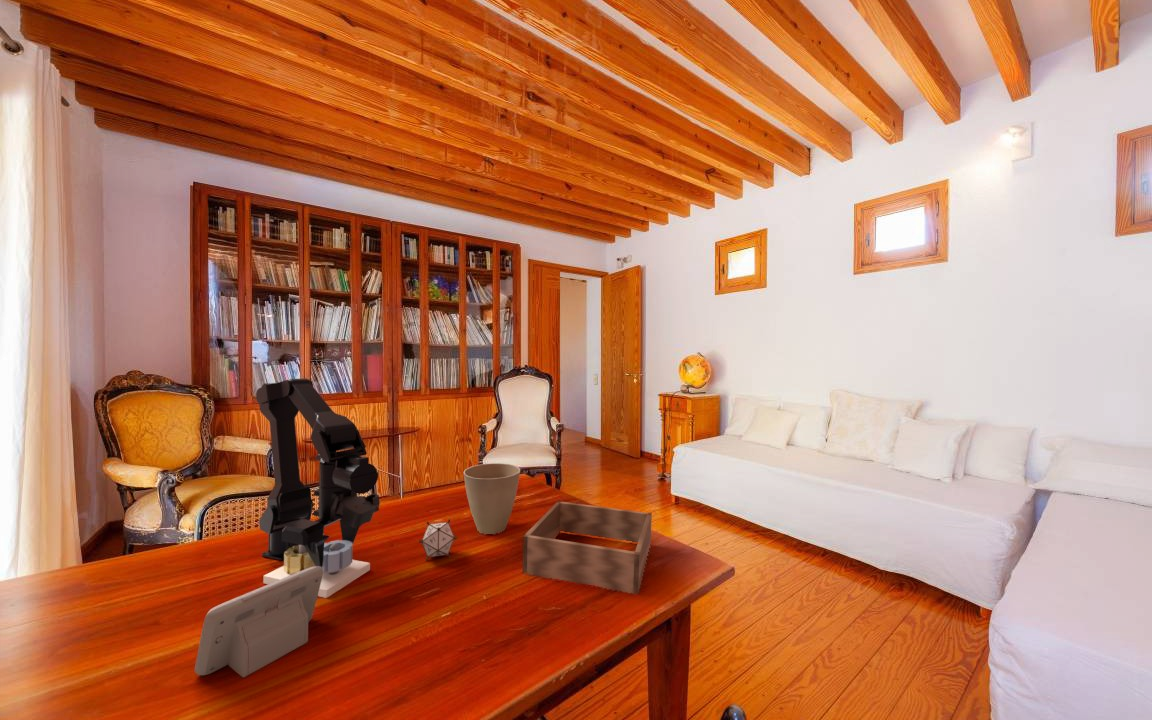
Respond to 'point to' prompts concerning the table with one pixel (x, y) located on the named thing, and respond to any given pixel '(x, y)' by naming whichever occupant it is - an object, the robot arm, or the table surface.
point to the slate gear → (337, 556)
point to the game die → (438, 539)
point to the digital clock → (259, 625)
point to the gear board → (326, 574)
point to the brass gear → (296, 560)
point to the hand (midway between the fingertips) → (333, 559)
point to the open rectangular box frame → (589, 546)
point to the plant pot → (491, 494)
